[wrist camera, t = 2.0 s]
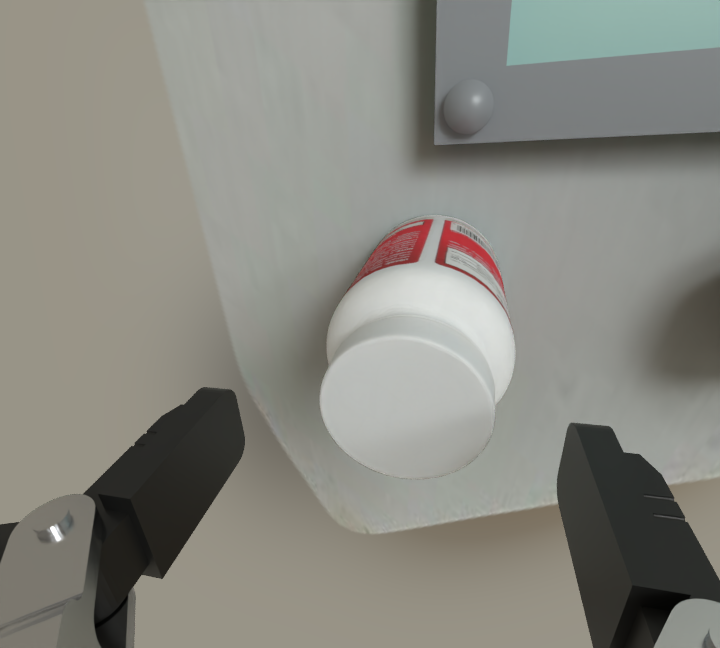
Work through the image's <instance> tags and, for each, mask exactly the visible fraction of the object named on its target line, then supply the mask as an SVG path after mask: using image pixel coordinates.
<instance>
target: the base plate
mask: <svg viewBox="0 0 720 648" xmlns="http://www.w3.org/2000/svg"><path fill="white" fill-rule="evenodd" d="M703 132H720V0H437V18H436V69H435V121H434V145H448V144H469V143H490V142H511V141H533V140H554V139H575V138H596V137H618V136H639V135H660V134H681V133H703Z"/></svg>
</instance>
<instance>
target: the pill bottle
mask: <svg viewBox="0 0 720 648" xmlns="http://www.w3.org/2000/svg"><path fill="white" fill-rule="evenodd" d="M326 351H327V359H328V365H329V367H328V369H327V371H326V373H325V375H324V377H323V380H322V383H321V388H320V394H319V403H320V411H321V415H322V419H323V422H324V424H325V426H326V428H327V430H328V432H329V434H330V435H331V437H332V438H333V440H334V441H335V442H336V443H337V445H338V446H339V447H340V448H341V449H342V450H343V451H344V452H345V453H346V454H348V455H349V456H350V457H351V458H352V459H354V460H355V461H357V462H358V463H360V464H362V465H364V466H365V467H367V468H369V469H371V470H374V471H376V472H379V473H382V474H385V475H388V476H393V477H398V478H404V479H429V478H436V477H440V476H444V475H447V474H450V473H453V472H455V471H458V470H460V469H461V468H463V467H465V466H467V465H468V464H469V463H471V462H472V461H473V460H474V459H475V458H477V457H478V455H479V454H480V453H481V452H482V451H483V450H484V448H485V447H486V445H487V444H488V442H489V440H490V438H491V435H492V432H493V428H494V423H495V406H496V405H497V403H498V402H499V401H500V400H501V398H502V397H503V395H504V394H505V392H506V390H507V388H508V386H509V383H510V381H511V378H512V375H513V370H514V365H515V342H514V335H513V329H512V325H511V320H510V316H509V311H508V306H507V301H506V297H505V292H504V287H503V282H502V276H501V271H500V268H499V264H498V261H497V258H496V255H495V253H494V251H493V249H492V247H491V245H490V244H489V242H488V241H487V239H486V238H485V237H484V236H483V235H482V234H481V233H480V232H479V231H478V230H477V229H475V228H474V227H473V226H471V225H469V224H468V223H466V222H464V221H462V220H459V219H457V218H453V217H449V216H443V215H426V216H420V217H416V218H413V219H410V220H408V221H405V222H403V223H401V224H400V225H398V226H397V227H395V228H394V229H393V230H391V231H390V232H389V233H388V234H387V235H386V236H385V237H384V238H383V239H382V241H381V242H380V243H379V245H378V246H377V247H376V249H375V250H374V252H373V253H372V255H371V256H370V258H369V259H368V261H367V262H366V264H365V265H364V267H363V268H362V269H361V271H360V273H359V274H358V276H357V277H356V279H355V280H354V282H353V283H352V285H351V286H350V287H349V289H348V290H347V292H346V293H345V295H344V296H343V298H342V299H341V301H340V302H339V304H338V306H337V308H336V310H335V311H334V314H333V316H332V318H331V321H330V324H329V328H328V333H327V342H326Z"/></svg>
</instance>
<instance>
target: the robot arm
mask: <svg viewBox="0 0 720 648" xmlns="http://www.w3.org/2000/svg"><path fill="white" fill-rule="evenodd" d="M244 445H245V437H244V431H243V426H242V422H241V417H240V413H239V408H238V403H237V399H236V395H235V393H234V392H233V391H232V390H229V389H218V388H207V387H203V388H201V389H199V390H198V391H197V392H196V393H195V394H194V395H193V396H192V397H191V398H190V399H189V400H188V402H186V403H185V404H184V405H180V406H178V407H176V408H175V409H173V410H171V411H170V412H168V413H166V414H165V415H163V416H161V417H160V419H158V421H157V422H155V423H154V424H153V425H152V426H151V427H150V428H149V429H148V430H147V433H146V434H143V435H142V436H141V437H140V438H139V439H138V440H137V441H136V442H135V445H134V446H131V447H130V448H129V449H128V450H127V451H126V452H125V453H124V454H123V455H122V456H121V457H120V458H119V459H118V460H117V461H116V462H115V463H114V464H113V465H112V466H111V467H110V468H109V469H108V470H107V471H106V472H105V473H104V474H103V475H102V476H101V477H100V478H99V479H98V480H97V481H96V482H95V483H94V484H93V485H92V486H91V487H90V488H89V489H88V490H87V491H86V492H85V493H84V494H72V495H66V496H62V497H59V498H56V499H53V500H51V501H49V502H47V503H45V504H43V505H41V506H39V507H38V508H36V509H35V510H33V511H32V512H31V513H29V514H28V515H27V516H26V517H25V518H23V520H21V521H20V522H16V523H8V524H1V525H0V648H134V634H135V600H136V596H135V591H134V588H133V586H134V585H135V583H136V582H137V580H138V579H139V578H140V576H141V575H146V576H151V577H156V578H161V579H163V577H164V576H165V574H166V573H167V571H168V570H169V568H170V566H171V565H172V563H173V562H174V560H175V559H176V557H177V556H178V554H179V553H180V551H181V550H182V548H183V547H184V545H185V544H186V542H187V541H188V539H189V537H190V536H191V534H192V533H193V531H194V530H195V528H196V527H197V525H198V524H199V522H200V521H201V519H202V518H203V516H204V515H205V513H206V511H207V510H208V508H209V507H210V505H211V504H212V502H213V501H214V499H215V498H216V496H217V495H218V493H219V492H220V490H221V488H222V487H223V485H224V484H225V482H226V481H227V479H228V478H229V476H230V475H231V473H232V472H233V470H234V469H235V467H236V465H237V464H238V462H239V461H240V459H241V457H242V454H243V450H244ZM557 497H558V504H559V508H560V512H561V517H562V521H563V525H564V528H565V533H566V537H567V541H568V545H569V549H570V553H571V557H572V561H573V566H574V570H575V574H576V578H577V582H578V586H579V591H580V595H581V599H582V603H583V607H584V611H585V615H586V619H587V624H588V628H589V632H590V636H591V640H592V644H593V648H720V580H719V578H718V576H717V575H716V573H715V571H714V569H713V567H712V565H711V564H710V562H709V560H708V558H707V556H706V555H705V553H704V551H703V549H702V547H701V545H700V544H699V542H698V540H697V538H696V536H695V535H694V533H693V531H692V529H691V527H690V526H689V524H688V523H687V522H685V516H684V515H683V513H682V511H681V509H680V507H679V506H678V504H677V502H674V497H673V495H672V493H671V491H670V489H669V487H668V486H667V484H666V482H665V480H664V478H663V476H662V475H661V474H660V473H659V472H658V471H657V470H656V469H655V468H654V467H653V466H652V465H651V464H649V463H648V462H647V461H646V460H645V459H644V458H643V457H642V456H641V455H640V454H633V453H624V452H623V450H622V448H621V446H620V444H619V442H618V440H617V437H616V435H615V433H614V431H613V429H612V428H611V427H609V426H601V425H590V424H580V423H570V424H569V426H568V429H567V433H566V438H565V443H564V447H563V452H562V457H561V462H560V467H559V471H558V477H557Z"/></svg>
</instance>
